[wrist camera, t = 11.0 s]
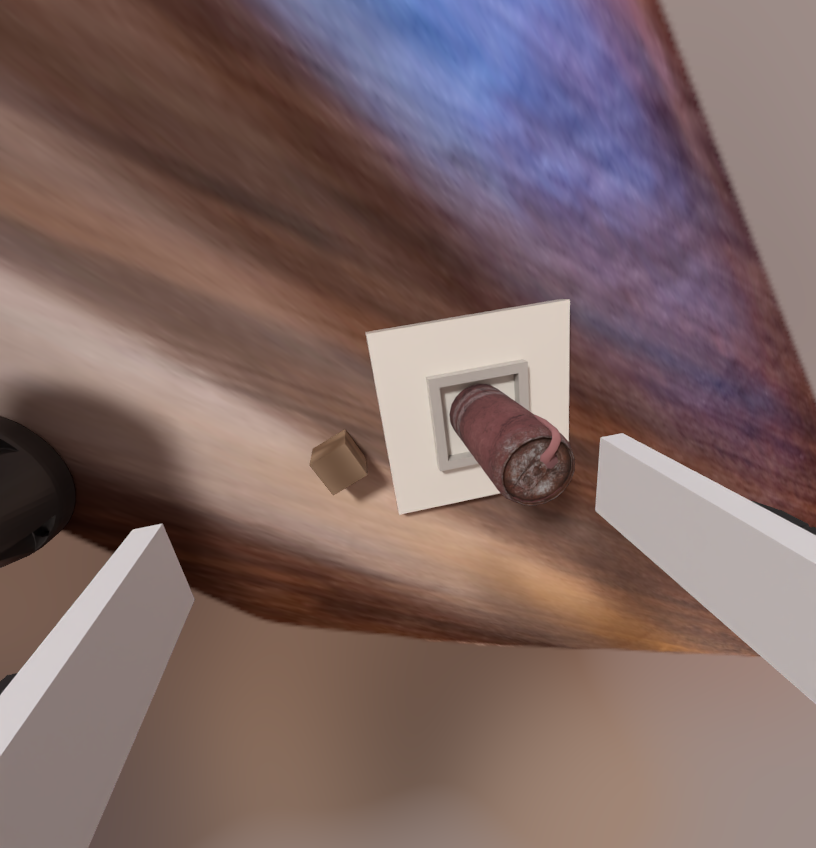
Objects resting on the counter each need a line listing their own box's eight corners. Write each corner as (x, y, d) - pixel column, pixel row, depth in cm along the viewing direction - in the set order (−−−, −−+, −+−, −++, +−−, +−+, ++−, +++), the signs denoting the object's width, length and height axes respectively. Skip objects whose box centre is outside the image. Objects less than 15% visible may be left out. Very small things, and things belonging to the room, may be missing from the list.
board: (397, 507, 44) (400, 520, 42) (365, 332, 37) (366, 335, 35) (561, 472, 46) (574, 483, 44) (561, 298, 39) (576, 300, 36)
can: (512, 384, 40) (593, 434, 27) (496, 441, 42) (565, 513, 29) (455, 375, 38) (512, 423, 25) (442, 434, 40) (488, 507, 27)
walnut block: (334, 476, 42) (333, 495, 38) (312, 448, 41) (309, 465, 37) (365, 457, 42) (367, 475, 38) (345, 429, 40) (345, 443, 37)
